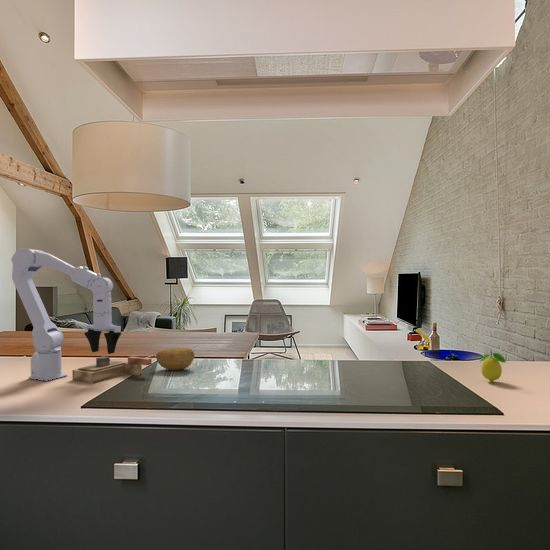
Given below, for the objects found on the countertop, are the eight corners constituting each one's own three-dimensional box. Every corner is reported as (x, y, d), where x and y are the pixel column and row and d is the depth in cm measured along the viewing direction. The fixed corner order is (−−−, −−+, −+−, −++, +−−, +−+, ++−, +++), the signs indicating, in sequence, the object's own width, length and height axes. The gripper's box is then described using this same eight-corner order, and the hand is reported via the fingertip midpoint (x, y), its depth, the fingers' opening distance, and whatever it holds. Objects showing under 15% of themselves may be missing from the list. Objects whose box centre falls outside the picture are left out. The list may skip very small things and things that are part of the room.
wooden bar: (127, 363, 142) (127, 357, 142) (131, 362, 144) (131, 356, 144) (147, 365, 138) (147, 359, 138) (151, 364, 140) (151, 358, 140)
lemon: (506, 385, 122) (506, 351, 122) (485, 384, 124) (484, 351, 124) (499, 379, 129) (498, 347, 129) (478, 378, 130) (478, 347, 130)
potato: (163, 366, 154) (162, 345, 154) (198, 367, 152) (198, 345, 152) (150, 372, 144) (150, 349, 144) (188, 373, 142) (188, 350, 142)
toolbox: (72, 379, 135) (72, 368, 135) (111, 369, 149) (111, 359, 149) (106, 384, 128) (106, 372, 128) (143, 373, 143) (143, 362, 143)
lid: (78, 370, 136) (78, 360, 136) (110, 362, 148) (110, 353, 148) (94, 372, 132) (94, 362, 132) (126, 364, 145) (125, 354, 145)
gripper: (127, 312, 141) (127, 351, 141) (97, 311, 147) (97, 349, 147) (110, 314, 134) (111, 355, 134) (80, 312, 141) (80, 352, 141)
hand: (103, 352), depth 140 cm, fingers open, 7 cm apart
